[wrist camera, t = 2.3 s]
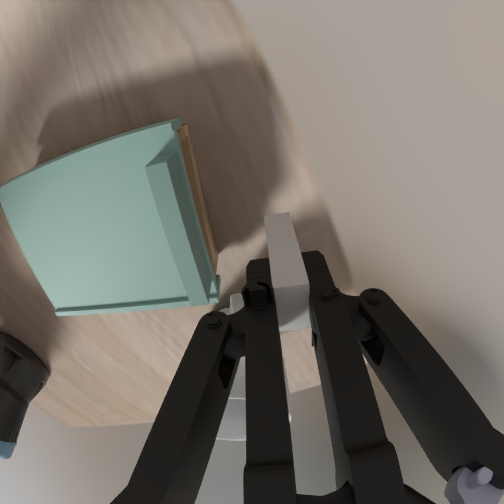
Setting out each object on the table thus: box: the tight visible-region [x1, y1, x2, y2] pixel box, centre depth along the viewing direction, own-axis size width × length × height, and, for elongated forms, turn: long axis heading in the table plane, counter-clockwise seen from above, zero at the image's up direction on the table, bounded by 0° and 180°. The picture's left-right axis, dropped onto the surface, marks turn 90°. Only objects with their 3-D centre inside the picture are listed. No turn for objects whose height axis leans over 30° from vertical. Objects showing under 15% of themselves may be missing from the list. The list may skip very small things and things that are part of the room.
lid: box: [0, 117, 221, 316], centre depth 21 cm, size 18×15×5 cm
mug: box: [216, 293, 292, 440], centre depth 28 cm, size 15×11×13 cm
